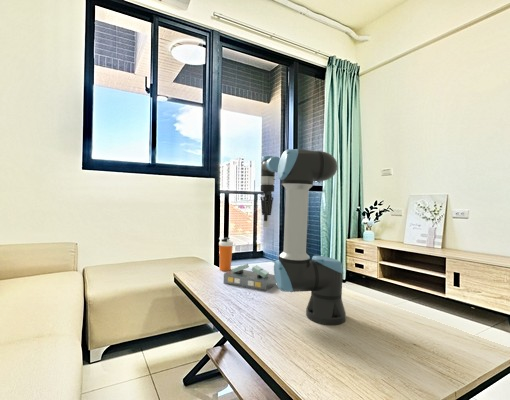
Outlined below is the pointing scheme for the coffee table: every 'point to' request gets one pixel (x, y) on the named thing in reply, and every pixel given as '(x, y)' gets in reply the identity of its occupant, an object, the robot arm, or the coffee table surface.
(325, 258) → the robot arm
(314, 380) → the coffee table surface
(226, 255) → the shaker bottle
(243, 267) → the switch
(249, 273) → the console
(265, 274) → the switch
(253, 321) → the coffee table surface
